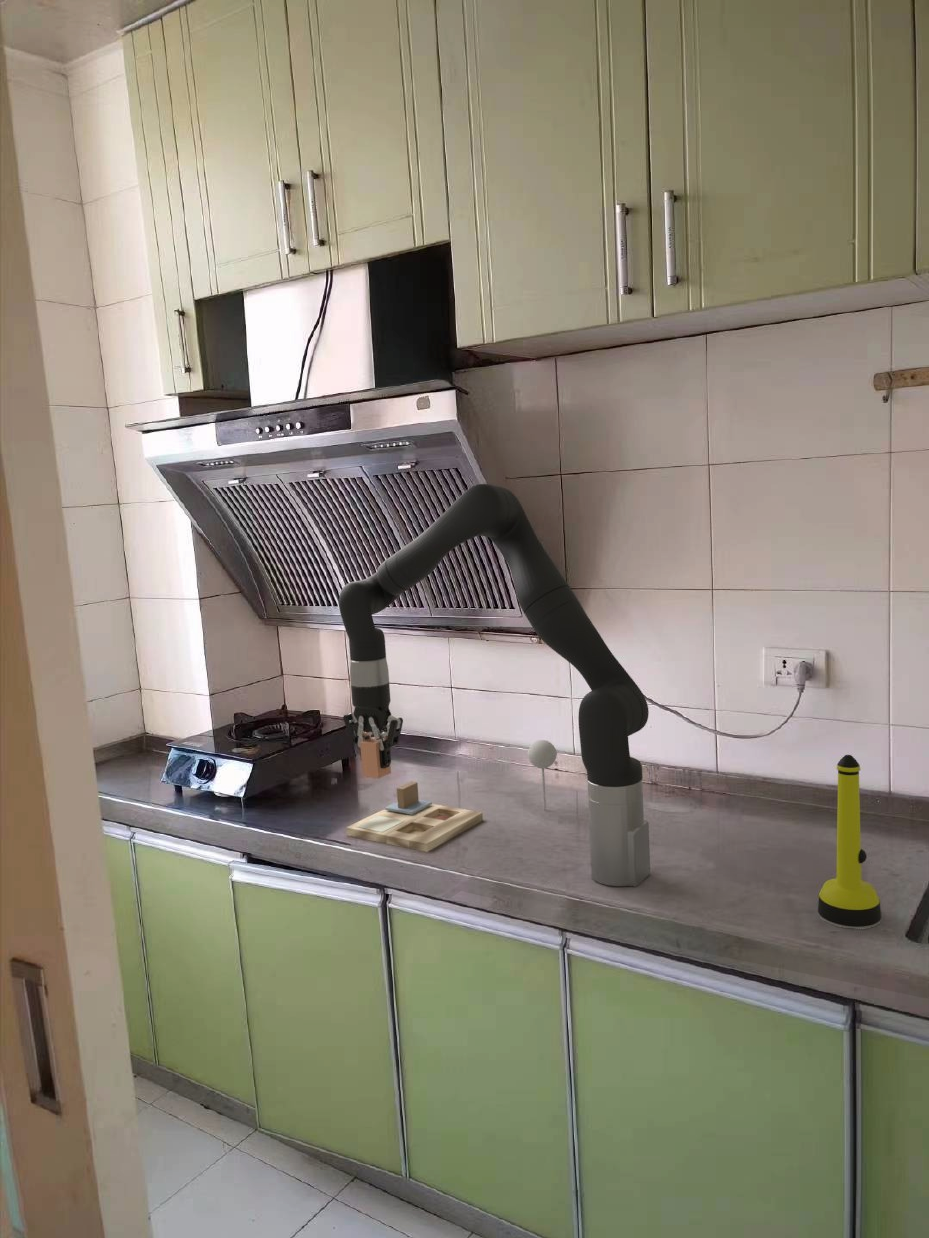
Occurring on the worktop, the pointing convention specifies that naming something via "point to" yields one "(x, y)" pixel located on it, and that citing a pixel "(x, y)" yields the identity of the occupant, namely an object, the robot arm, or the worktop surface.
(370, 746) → the block
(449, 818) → the board
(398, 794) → the lid
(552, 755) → the lollipop
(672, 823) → the worktop surface
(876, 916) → the flashlight
